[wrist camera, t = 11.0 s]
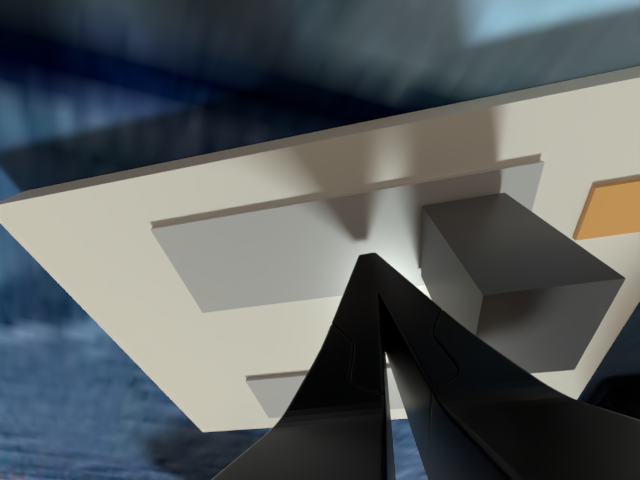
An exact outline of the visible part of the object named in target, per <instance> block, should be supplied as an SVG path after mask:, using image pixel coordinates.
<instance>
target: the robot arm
mask: <svg viewBox="0 0 640 480" xmlns="http://www.w3.org/2000/svg"><path fill="white" fill-rule="evenodd" d="M386 355H387V358H388V361H389V364H390V367H391V370H392V373H393V376H394V379H395V382H396V385H397V388H398V391H399V394H400V397H401V400H402V403H403V406H404V409H405V412H406V415H407V418H408V421H409V424H410V427H411V430H412V433H413V436H414V439H415V442H416V445H417V448H418V451H419V454H420V457H421V460H422V463H423V466H424V469H425V472H426V474H427V476H428V480H640V377H636V378H623V379H612V380H609V381H606V382H604V383H603V384H602V386H601V387H600V388H599V390H598V391H597V393H596V394H595V396H594V397H593V399H592V400H591V401H590V403H589V404H587V403H584V402H581V401H578V400H576V399H573V398H571V397H569V396H567V395H565V394H563V393H561V392H559V391H557V390H555V389H553V388H552V387H550V386H548V385H547V384H545V383H543V382H542V381H540V380H539V379H537V378H536V377H534V376H533V375H532V374H530V373H529V372H527V371H526V370H524V369H523V368H521V367H520V366H518V365H517V364H516V363H514V362H513V361H511V360H510V359H508V358H507V357H505V356H504V355H503V354H501V353H500V352H498V351H497V350H495V349H494V348H492V347H491V346H489V345H488V344H487V343H485V342H484V341H482V340H481V339H480V338H478V337H477V336H476V335H474V334H473V333H471V332H470V331H469V330H467V329H466V328H465V327H464V326H462V325H461V324H460V323H459V322H457V321H456V320H455V319H454V318H452V317H451V316H450V315H449V314H448V313H446V312H445V311H444V310H442V309H441V308H440V307H439V306H438V305H437V304H436V303H435V302H433V301H432V300H431V299H430V298H429V297H428V296H426V295H425V294H424V293H423V292H422V291H420V290H419V289H418V288H417V287H416V286H415V285H413V284H412V283H411V282H410V281H409V280H407V279H406V278H405V277H404V276H403V275H402V274H400V273H399V272H398V271H397V270H396V269H394V268H393V267H392V266H391V265H390V264H389V263H387V262H386V261H385V260H384V259H383V258H382V257H380V256H379V255H378V254H377V253H375V252H373V253H367V254H361V255H359V256H358V258H357V261H356V263H355V266H354V268H353V271H352V273H351V276H350V278H349V281H348V283H347V286H346V288H345V291H344V293H343V296H342V298H341V301H340V303H339V306H338V308H337V311H336V313H335V316H334V318H333V321H332V325H331V326H330V328H329V331H328V333H327V335H326V338H325V340H324V342H323V344H322V347H321V349H320V351H319V353H318V355H317V357H316V358H315V360H314V362H313V364H312V366H311V368H310V369H309V371H308V373H307V375H306V376H305V378H304V380H303V382H302V383H301V385H300V387H299V389H298V390H297V392H296V394H295V396H294V397H293V399H292V401H291V403H290V404H289V406H288V408H287V409H286V411H285V413H284V414H283V416H282V417H281V418H280V420H279V421H278V422H277V423H276V425H275V426H274V427H273V428H272V429H271V430H270V431H269V432H268V433H266V434H265V435H264V436H263V437H262V438H260V439H259V440H258V441H257V442H256V443H254V444H253V445H252V446H251V447H250V448H248V449H247V450H246V451H245V452H244V453H242V454H241V455H240V456H239V457H238V458H236V459H235V460H234V461H233V462H232V463H230V464H229V465H228V466H227V467H226V468H224V469H223V470H222V471H221V472H220V473H218V474H217V475H216V476H215V477H214V478H212V479H211V480H396V478H395V464H394V452H393V439H392V427H391V414H390V402H389V389H388V377H387V364H386Z"/></svg>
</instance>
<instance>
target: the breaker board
mask: <svg viewBox="0 0 640 480" xmlns="http://www.w3.org/2000/svg"><path fill="white" fill-rule="evenodd" d="M498 193H506V194H508V195H509V196H510V197H512V198H513V199H515V200H516V201H517V202H519V203H520V204H522V205H523V206H525V207H526V208H527V209H529V210H530V211H532V212H533V213H534V214H536V215H537V216H539V217H540V218H541V219H543V220H544V221H546V222H547V223H549V224H550V225H551V226H553V227H554V228H556V229H557V230H558V231H560V232H561V233H563V234H564V235H565V236H567V237H568V238H570V239H571V240H573V241H574V242H575V243H577V244H578V245H580V246H581V247H582V248H584V249H585V250H587V251H588V252H589V253H591V254H592V255H594V256H595V257H597V258H598V259H599V260H601V261H602V262H604V263H605V264H606V265H608V266H609V267H611V268H612V269H613V270H615V271H616V272H618V273H619V274H621V275H622V276H623V277H625V278H626V279H625V281H624V283H623V284H622V286H621V288H620V290H619V291H618V293H617V295H616V297H615V299H614V300H613V302H612V304H611V306H610V308H609V309H608V311H607V313H606V315H605V316H604V318H603V320H602V322H601V324H600V325H599V327H598V329H597V331H596V332H595V334H594V336H593V338H592V340H591V341H590V343H589V345H588V347H587V348H586V350H585V352H584V354H583V356H582V357H581V359H580V361H579V363H578V365H577V366H576V368H575V370H567V371H555V372H543V373H531V374H532V375H533V376H534V377H536V378H537V379H539V380H540V381H542V382H543V383H545V384H547V385H548V386H550V387H552V388H553V389H555V390H557V391H559V392H561V393H563V394H565V395H567V396H569V397H571V398H573V399H576V400H577V399H578V397H579V396H580V394H581V393H582V391H583V390H584V388H585V386H586V385H587V383H588V382H589V380H590V379H591V377H592V375H593V374H594V372H595V371H596V369H597V368H598V366H599V364H600V363H601V361H602V360H603V358H604V357H605V355H606V353H607V352H608V350H609V349H610V347H611V346H612V344H613V342H614V341H615V339H616V338H617V336H618V335H619V333H620V331H621V330H622V328H623V327H624V325H625V324H626V322H627V320H628V319H629V317H630V316H631V314H632V313H633V311H634V310H635V308H636V306H637V305H638V303H639V302H640V66H636V67H631V68H626V69H621V70H617V71H612V72H607V73H602V74H597V75H592V76H587V77H582V78H577V79H572V80H567V81H563V82H558V83H553V84H548V85H543V86H538V87H533V88H528V89H523V90H518V91H513V92H508V93H504V94H499V95H494V96H489V97H484V98H479V99H474V100H469V101H464V102H459V103H454V104H449V105H445V106H440V107H435V108H430V109H425V110H420V111H415V112H410V113H405V114H400V115H395V116H390V117H386V118H381V119H376V120H371V121H366V122H361V123H356V124H351V125H346V126H341V127H336V128H332V129H327V130H322V131H317V132H312V133H307V134H302V135H297V136H292V137H287V138H282V139H277V140H273V141H268V142H263V143H258V144H253V145H248V146H243V147H238V148H233V149H228V150H223V151H218V152H214V153H209V154H204V155H199V156H194V157H189V158H184V159H179V160H174V161H169V162H164V163H159V164H155V165H150V166H145V167H140V168H135V169H130V170H125V171H120V172H115V173H110V174H105V175H101V176H96V177H91V178H86V179H81V180H76V181H71V182H66V183H61V184H56V185H51V186H46V187H42V188H37V189H32V190H27V191H24V192H21V193H19V194H16V195H14V196H12V197H9V198H7V199H4V200H2V201H0V223H1V224H2V225H3V227H4V228H5V229H6V230H7V231H8V232H9V233H10V234H11V235H12V236H13V237H14V238H15V239H16V240H17V241H18V242H19V243H20V244H21V245H22V246H23V247H24V248H25V249H26V250H27V251H28V252H29V253H30V254H31V255H32V256H33V257H34V259H35V260H36V261H37V262H38V263H39V264H40V265H41V266H42V267H43V268H44V269H45V270H46V271H47V272H48V273H49V274H50V275H51V276H52V277H53V278H54V279H55V280H56V281H57V282H58V283H59V284H60V285H61V286H62V287H63V288H64V289H65V291H66V292H67V293H68V294H69V295H70V296H71V297H72V298H73V299H74V300H75V301H76V302H77V303H78V304H79V305H80V306H81V307H82V308H83V309H84V310H85V311H86V312H87V313H88V314H89V315H90V316H91V317H92V318H93V319H94V320H95V321H96V323H97V324H98V325H99V326H100V327H101V328H102V329H103V330H104V331H105V332H106V333H107V334H108V335H109V336H110V337H111V338H112V339H113V340H114V341H115V342H116V343H117V344H118V345H119V346H120V347H121V348H122V349H123V350H124V351H125V352H126V353H127V355H128V356H129V357H130V358H131V359H132V360H133V361H134V362H135V363H136V364H137V365H138V366H139V367H140V368H141V369H142V370H143V371H144V372H145V373H146V374H147V375H148V376H149V377H150V378H151V379H152V380H153V381H154V382H155V383H156V384H157V385H158V387H159V388H160V389H161V390H162V391H163V392H164V393H165V394H166V395H167V396H168V397H169V398H170V399H171V400H172V401H173V402H174V403H175V404H176V405H177V406H178V407H179V408H180V409H181V410H182V411H183V412H184V413H185V414H186V415H187V416H188V417H189V419H190V420H191V421H192V422H193V423H194V424H195V425H196V426H197V427H198V428H199V429H200V430H201V431H202V432H214V431H229V430H243V429H258V428H273V427H274V426H275V425H276V423H277V422H278V421H279V420H280V418H281V417H282V416H283V414H284V413H285V411H286V409H287V408H288V406H289V404H290V403H291V401H292V399H293V397H294V396H295V394H296V392H297V390H298V389H299V387H300V385H301V383H302V382H303V380H304V378H305V376H306V375H307V373H308V371H309V369H310V368H311V366H312V364H313V362H314V360H315V358H316V357H317V355H318V353H319V351H320V349H321V347H322V344H323V342H324V340H325V338H326V335H327V333H328V331H329V328H330V326H331V325H332V321H333V318H334V316H335V313H336V311H337V308H338V306H339V303H340V301H341V298H342V296H343V293H344V291H345V288H346V286H347V283H348V281H349V278H350V276H351V273H352V271H353V268H354V266H355V263H356V261H357V258H358V256H359V255H361V254H367V253H373V252H375V253H377V254H378V255H379V256H380V257H382V258H383V259H384V260H385V261H386V262H387V263H389V264H390V265H391V266H392V267H393V268H394V269H396V270H397V271H398V272H399V273H400V274H402V275H403V276H404V277H405V278H406V279H407V280H409V281H410V282H411V283H412V284H413V285H415V286H416V287H417V288H418V289H419V290H420V291H422V292H423V293H424V294H425V295H426V296H428V297H429V298H430V299H431V297H430V295H429V292H428V290H427V288H426V286H425V284H424V281H423V279H422V277H421V244H422V206H424V205H430V204H436V203H443V202H449V201H455V200H461V199H467V198H474V197H480V196H486V195H492V194H498ZM431 300H432V299H431ZM386 364H387V377H388V389H389V402H390V414H391V420H392V419H407V415H406V412H405V409H404V406H403V403H402V400H401V397H400V394H399V391H398V388H397V385H396V382H395V379H394V376H393V373H392V370H391V367H390V364H389V361H388V358H387V355H386Z"/></svg>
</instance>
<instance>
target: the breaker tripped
mask: <svg viewBox="0 0 640 480" xmlns="http://www.w3.org/2000/svg"><path fill="white" fill-rule="evenodd" d="M421 277H422V279H423V281H424V284H425V286H426V288H427V290H428V292H429V295H430V297H431V299H432V301H433V302H435V303H436V304H437V305H438V306H439V307H440V308H441V309H442V310H444V311H445V312H446V313H448V314H449V315H450V316H451V317H452V318H454V319H455V320H456V321H457V322H459V323H460V324H461V325H462V326H464V327H465V328H466V329H467V330H469V331H470V332H471V333H473V334H474V335H476V336H477V337H478V338H480V339H481V340H482V341H484V342H485V343H487V344H488V345H489V346H491V347H492V348H494V349H495V350H497V351H498V352H500V353H501V354H503V355H504V356H505V357H507V358H508V359H510V360H511V361H513V362H514V363H516V364H517V365H518V366H520V367H521V368H523V369H524V370H526V371H527V372H529V373H530V374H531V373H543V372H555V371H567V370H575V368H576V366H577V365H578V363H579V361H580V359H581V357H582V356H583V354H584V352H585V350H586V348H587V347H588V345H589V343H590V341H591V340H592V338H593V336H594V334H595V332H596V331H597V329H598V327H599V325H600V324H601V322H602V320H603V318H604V316H605V315H606V313H607V311H608V309H609V308H610V306H611V304H612V302H613V300H614V299H615V297H616V295H617V293H618V291H619V290H620V288H621V286H622V284H623V283H624V281H625V279H626V278H625V277H623V276H622V275H621V274H619V273H618V272H616V271H615V270H613V269H612V268H611V267H609V266H608V265H606V264H605V263H604V262H602V261H601V260H599V259H598V258H597V257H595V256H594V255H592V254H591V253H589V252H588V251H587V250H585V249H584V248H582V247H581V246H580V245H578V244H577V243H575V242H574V241H573V240H571V239H570V238H568V237H567V236H565V235H564V234H563V233H561V232H560V231H558V230H557V229H556V228H554V227H553V226H551V225H550V224H549V223H547V222H546V221H544V220H543V219H541V218H540V217H539V216H537V215H536V214H534V213H533V212H532V211H530V210H529V209H527V208H526V207H525V206H523V205H522V204H520V203H519V202H517V201H516V200H515V199H513V198H512V197H510V196H509V195H508V194H506V193H498V194H492V195H486V196H480V197H474V198H467V199H461V200H455V201H449V202H443V203H436V204H430V205H424V206H422V244H421Z"/></svg>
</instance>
